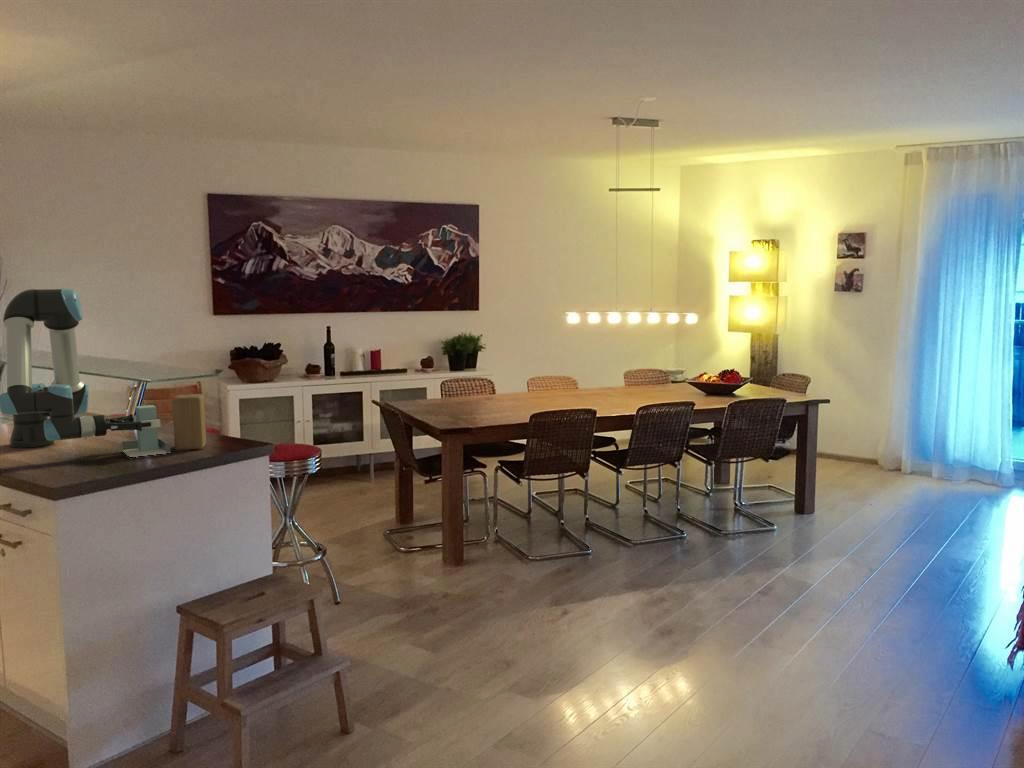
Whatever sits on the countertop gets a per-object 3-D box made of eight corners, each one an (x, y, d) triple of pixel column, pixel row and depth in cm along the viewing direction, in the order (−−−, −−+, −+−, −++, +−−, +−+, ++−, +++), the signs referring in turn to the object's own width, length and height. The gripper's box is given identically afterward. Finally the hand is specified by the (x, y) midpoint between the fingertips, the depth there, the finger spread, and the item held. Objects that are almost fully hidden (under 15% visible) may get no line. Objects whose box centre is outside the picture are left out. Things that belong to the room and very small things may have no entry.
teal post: (137, 448, 318) (135, 406, 316) (154, 447, 321) (152, 405, 319) (141, 451, 313) (138, 408, 311) (158, 449, 316) (156, 406, 314)
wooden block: (174, 450, 319) (171, 397, 317) (179, 445, 329) (176, 394, 326) (202, 449, 321) (200, 397, 319) (206, 444, 331) (204, 393, 328)
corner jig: (122, 451, 318) (121, 441, 317) (161, 447, 326) (161, 437, 325) (129, 458, 306) (128, 447, 306) (170, 453, 314) (169, 442, 314)
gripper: (88, 431, 317) (149, 425, 328) (99, 442, 296) (164, 435, 308) (87, 411, 316) (148, 406, 328) (98, 420, 295) (163, 414, 307)
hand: (156, 420), depth 318 cm, fingers open, 13 cm apart
